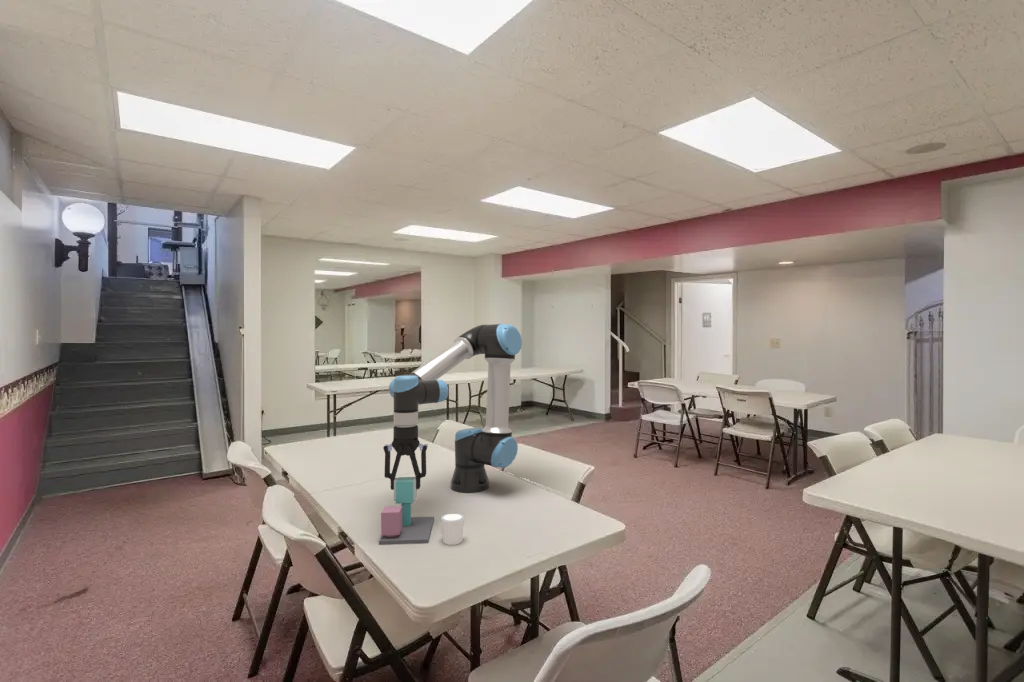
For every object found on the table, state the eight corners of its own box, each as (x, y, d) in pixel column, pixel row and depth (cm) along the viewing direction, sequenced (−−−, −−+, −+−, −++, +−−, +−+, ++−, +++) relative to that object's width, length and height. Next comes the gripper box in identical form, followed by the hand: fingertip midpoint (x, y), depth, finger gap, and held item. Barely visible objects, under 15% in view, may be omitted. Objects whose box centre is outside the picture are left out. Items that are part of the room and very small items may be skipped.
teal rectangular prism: (415, 497, 152) (415, 476, 152) (412, 503, 147) (412, 481, 147) (398, 497, 152) (398, 477, 152) (395, 503, 146) (395, 481, 147)
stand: (434, 519, 156) (433, 493, 156) (428, 542, 138) (427, 513, 138) (390, 520, 155) (390, 494, 155) (378, 544, 137) (378, 514, 137)
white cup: (453, 534, 144) (452, 510, 144) (469, 540, 140) (469, 516, 140) (435, 541, 139) (435, 517, 139) (452, 548, 135) (452, 523, 135)
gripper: (436, 422, 154) (436, 495, 154) (378, 423, 153) (378, 496, 152) (434, 426, 146) (433, 503, 146) (373, 427, 145) (373, 504, 145)
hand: (405, 499), depth 149 cm, fingers closed on teal rectangular prism, 5 cm apart
